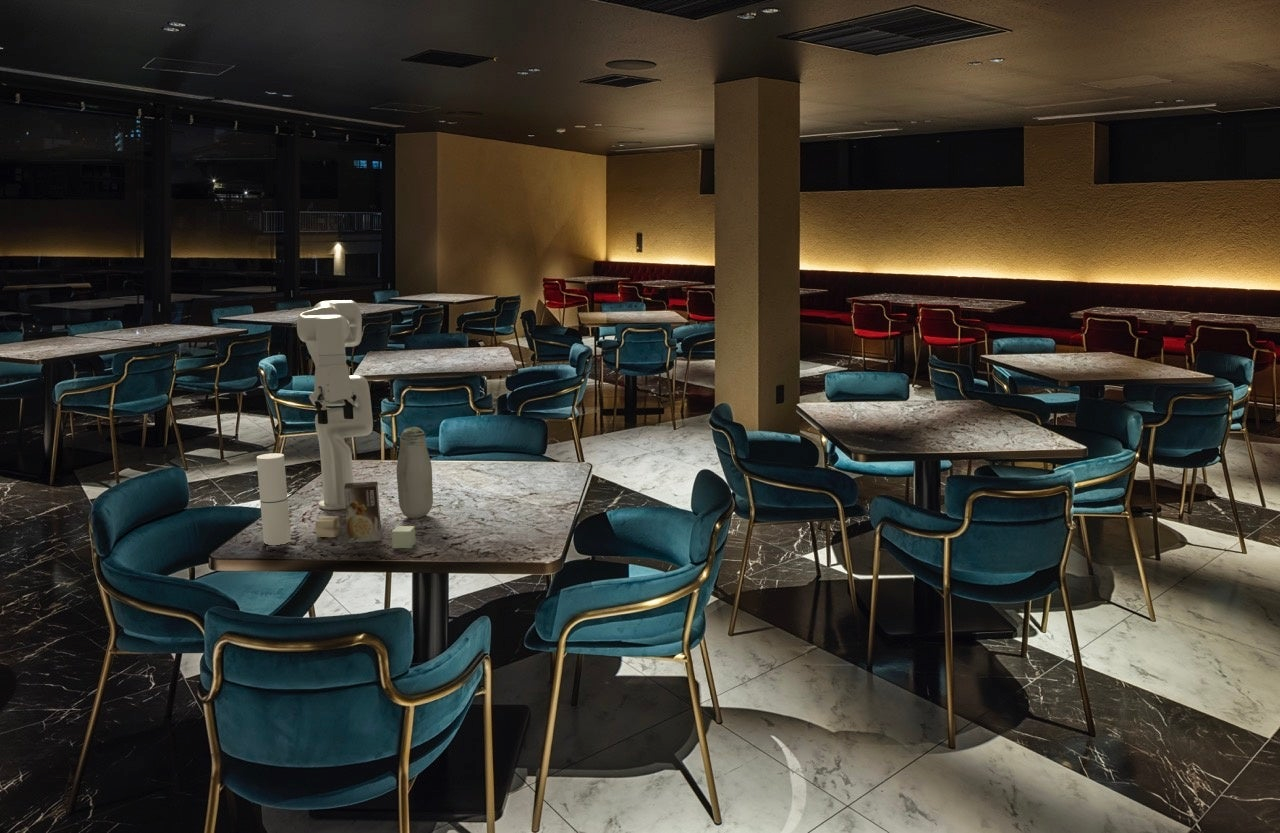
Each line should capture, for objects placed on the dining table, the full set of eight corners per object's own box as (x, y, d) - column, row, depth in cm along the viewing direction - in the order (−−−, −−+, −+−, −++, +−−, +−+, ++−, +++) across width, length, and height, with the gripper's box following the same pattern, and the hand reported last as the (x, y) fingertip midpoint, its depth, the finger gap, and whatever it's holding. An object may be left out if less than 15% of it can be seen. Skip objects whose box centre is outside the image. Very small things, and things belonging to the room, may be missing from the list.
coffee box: (382, 534, 271) (379, 480, 268) (380, 541, 265) (377, 486, 262) (349, 537, 269) (345, 482, 266) (347, 543, 263) (343, 488, 260)
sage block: (397, 543, 263) (396, 526, 262) (415, 543, 263) (414, 526, 262) (392, 548, 258) (391, 531, 257) (410, 548, 258) (409, 531, 257)
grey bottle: (425, 522, 282) (420, 431, 277) (394, 521, 284) (388, 430, 279) (439, 513, 292) (434, 425, 287) (408, 512, 294) (403, 424, 289)
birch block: (323, 532, 274) (321, 516, 273) (339, 532, 274) (338, 516, 273) (316, 538, 269) (315, 521, 268) (333, 537, 269) (332, 521, 268)
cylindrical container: (267, 548, 260) (260, 460, 255) (260, 541, 265) (253, 455, 261) (294, 543, 264) (287, 456, 260) (286, 537, 270) (279, 452, 265)
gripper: (344, 358, 272) (348, 416, 274) (298, 363, 257) (302, 425, 259) (364, 358, 268) (368, 417, 271) (318, 364, 253) (322, 426, 256)
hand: (336, 421), depth 265 cm, fingers open, 9 cm apart
